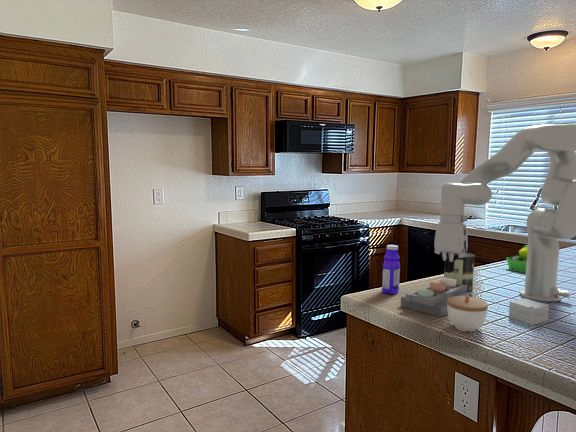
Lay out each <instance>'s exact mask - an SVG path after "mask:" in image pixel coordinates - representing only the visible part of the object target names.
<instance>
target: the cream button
mask: <svg viewBox="0 0 576 432" xmlns="http://www.w3.org/2000/svg"><path fill="white" fill-rule="evenodd" d="M440 281H441V282H444V283H446V287H448V288H455V287H456V281H457V279H455V278H452V277H444V276H442V277H441V278H440Z"/></svg>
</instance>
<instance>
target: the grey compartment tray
mask: <svg viewBox="0 0 576 432" xmlns="http://www.w3.org/2000/svg"><path fill="white" fill-rule="evenodd" d="M439 281H440V282H441V280H439ZM421 288H425V289H430V284H428V285H425V286H423V287H420V288H417V289H415V290H412V291H410V292H407V293H405V295H404V296H403V295H402V296H401V297H400V307H403V308H406V309H410V310H413V311H418V312H421V313H424V312H425V314H429V315H431V314H433V316H435V315H436V316H435V317H439V316H440V317H439V318H442V317H443V316H446V315H448V313H447V299H448V298H450V297H454V296H469V297H473V293H468V292H465V291H467V285H463V284H458V283H456V287H455V288H448V287H445V292H443V293H439V292H434V296H433V297H431V298H429V297H424V296H420V295H417V290H418V289H421ZM441 316H442V317H441Z"/></svg>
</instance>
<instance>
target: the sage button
mask: <svg viewBox="0 0 576 432" xmlns="http://www.w3.org/2000/svg"><path fill="white" fill-rule="evenodd" d="M420 288H421V289H420ZM420 288H417V289H418V290H417V289H416V290H417V295H420V296H424V297H429V298H431V297H433V296H434V291H433V290H431V289H425V288H423V287H420Z"/></svg>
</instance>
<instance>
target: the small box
mask: <svg viewBox="0 0 576 432" xmlns="http://www.w3.org/2000/svg"><path fill="white" fill-rule="evenodd" d="M508 309H509V310H508V317H509V318H511V319H514V320H516V321H520V322H522V323H526V324H529V325H531V326H534V325H536V324H537V325H538V324H541V323H543V322H544V323H545V322H548V321H549V310H550V305H549V304H546V303H545V302H541V301H537V300H532V299H528V298H525V297H523V298H521V299H515V300H511V301H509V308H508Z"/></svg>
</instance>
